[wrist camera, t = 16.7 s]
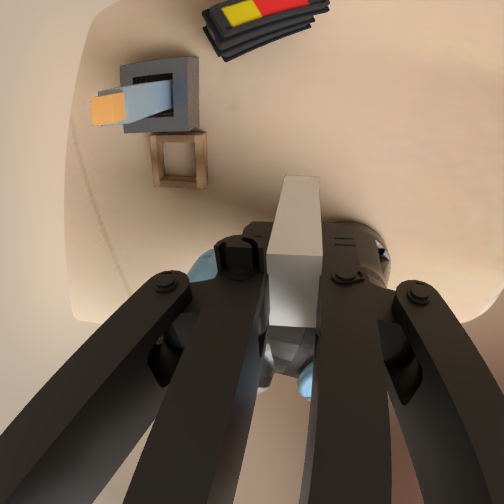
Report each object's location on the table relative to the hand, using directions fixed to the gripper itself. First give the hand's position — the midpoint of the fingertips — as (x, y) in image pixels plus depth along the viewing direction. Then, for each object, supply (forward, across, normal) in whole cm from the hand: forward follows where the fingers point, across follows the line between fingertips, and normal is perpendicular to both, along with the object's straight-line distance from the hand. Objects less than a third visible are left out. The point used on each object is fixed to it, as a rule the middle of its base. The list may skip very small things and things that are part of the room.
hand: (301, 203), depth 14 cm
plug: (+27, +19, -6) cm, 33 cm away
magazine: (+27, +4, -13) cm, 30 cm away
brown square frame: (+27, +18, +4) cm, 33 cm away
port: (+27, +19, -6) cm, 33 cm away
